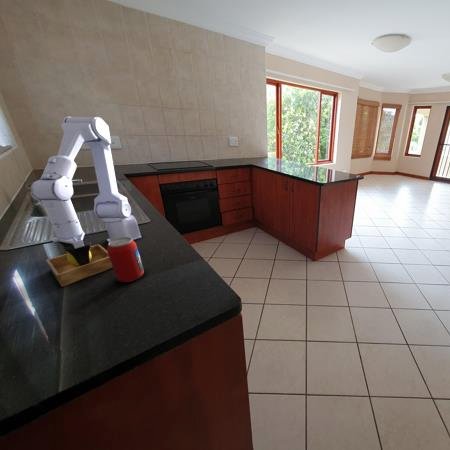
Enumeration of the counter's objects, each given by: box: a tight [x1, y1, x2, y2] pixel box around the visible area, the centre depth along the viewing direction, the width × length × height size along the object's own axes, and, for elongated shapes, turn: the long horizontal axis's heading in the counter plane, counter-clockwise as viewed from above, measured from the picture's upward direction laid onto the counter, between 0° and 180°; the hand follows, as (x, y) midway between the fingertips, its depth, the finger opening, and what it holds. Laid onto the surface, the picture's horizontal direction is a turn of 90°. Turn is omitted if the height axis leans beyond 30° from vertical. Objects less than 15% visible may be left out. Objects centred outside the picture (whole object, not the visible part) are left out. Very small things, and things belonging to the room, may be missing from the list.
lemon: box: [66, 251, 92, 267], centre depth 73 cm, size 6×6×8 cm
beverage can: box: [106, 237, 145, 283], centre depth 68 cm, size 7×7×12 cm
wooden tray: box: [45, 243, 113, 287], centre depth 74 cm, size 13×13×4 cm
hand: (81, 261), depth 74 cm, fingers open, 7 cm apart
